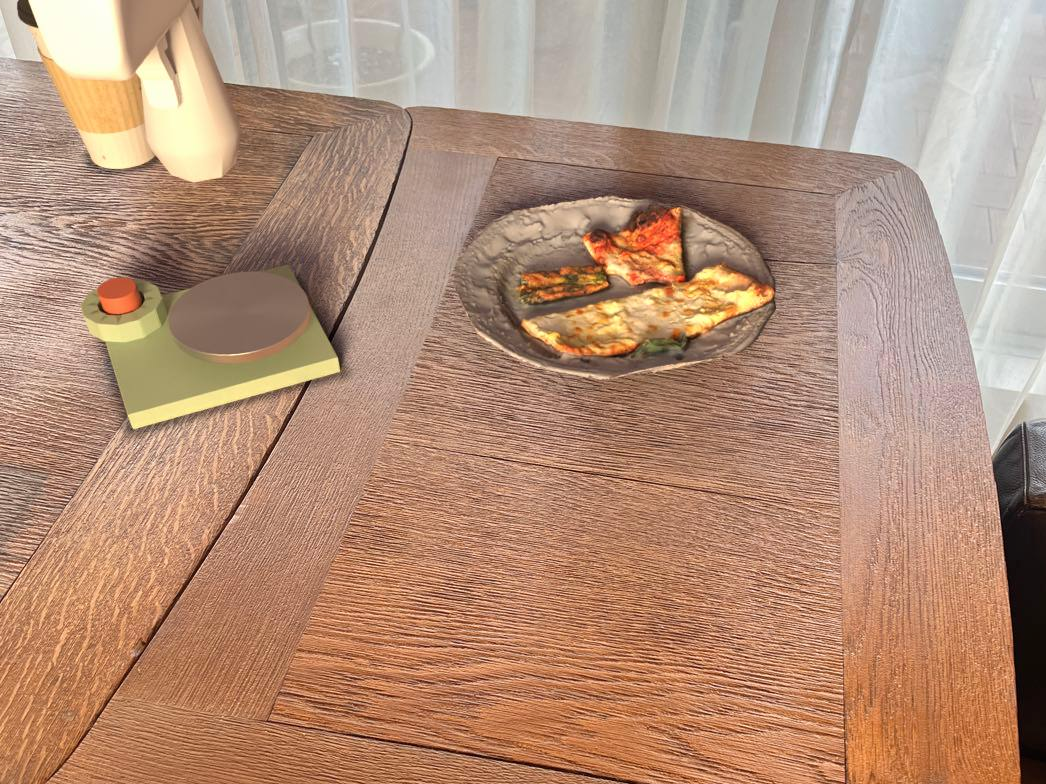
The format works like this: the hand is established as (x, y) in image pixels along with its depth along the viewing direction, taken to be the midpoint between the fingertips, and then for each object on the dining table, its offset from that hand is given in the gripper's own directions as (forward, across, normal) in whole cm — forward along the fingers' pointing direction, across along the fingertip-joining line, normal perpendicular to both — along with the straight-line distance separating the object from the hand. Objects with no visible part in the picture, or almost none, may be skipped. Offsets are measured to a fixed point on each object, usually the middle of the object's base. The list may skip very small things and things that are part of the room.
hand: (180, 87), depth 62 cm
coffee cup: (+20, -28, -20) cm, 40 cm away
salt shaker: (+5, 0, 0) cm, 5 cm away
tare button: (+17, -1, -9) cm, 20 cm away
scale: (+20, 0, -2) cm, 20 cm away
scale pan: (+17, 0, 0) cm, 17 cm away
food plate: (+20, -9, +27) cm, 35 cm away
